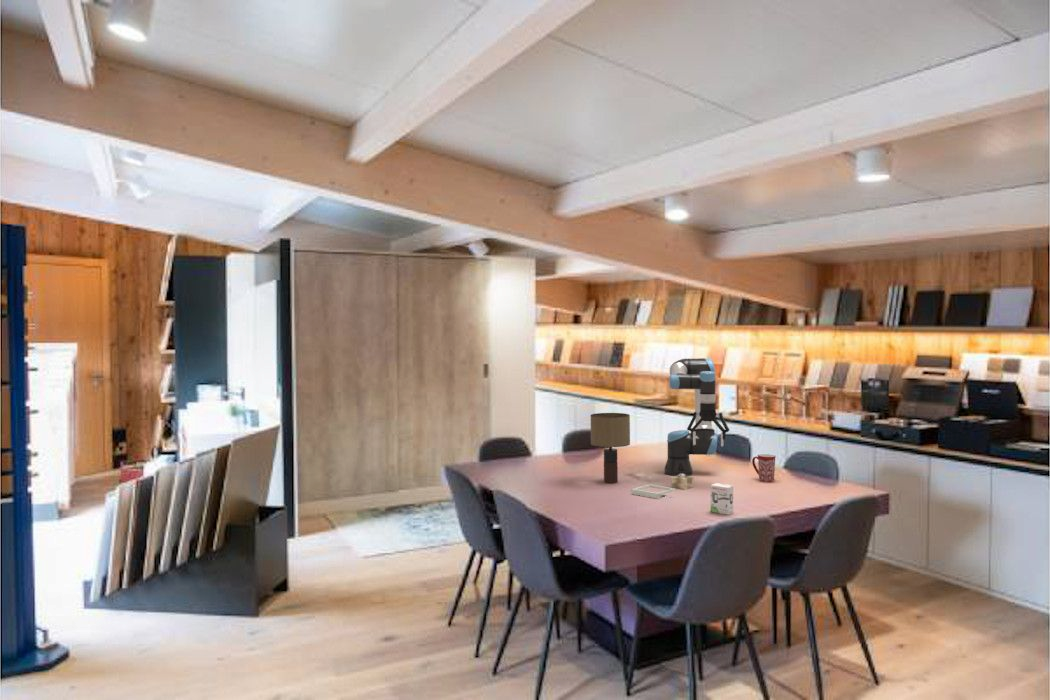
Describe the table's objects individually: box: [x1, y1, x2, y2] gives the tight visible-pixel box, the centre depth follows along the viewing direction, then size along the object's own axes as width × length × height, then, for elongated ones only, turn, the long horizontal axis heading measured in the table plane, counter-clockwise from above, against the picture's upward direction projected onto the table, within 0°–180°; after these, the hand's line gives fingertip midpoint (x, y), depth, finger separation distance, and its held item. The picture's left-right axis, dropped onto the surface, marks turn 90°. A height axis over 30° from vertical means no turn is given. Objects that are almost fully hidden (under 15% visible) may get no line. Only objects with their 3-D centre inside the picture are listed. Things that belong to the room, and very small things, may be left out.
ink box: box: [710, 482, 734, 515], centre depth 307 cm, size 9×5×12 cm, turn 48°
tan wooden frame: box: [670, 475, 695, 490], centre depth 351 cm, size 8×9×5 cm
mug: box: [751, 453, 777, 483], centre depth 371 cm, size 13×9×14 cm
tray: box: [630, 484, 677, 500], centre depth 344 cm, size 15×15×2 cm
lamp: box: [590, 412, 631, 484], centre depth 371 cm, size 20×20×35 cm
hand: (708, 445), depth 354 cm, fingers open, 13 cm apart
